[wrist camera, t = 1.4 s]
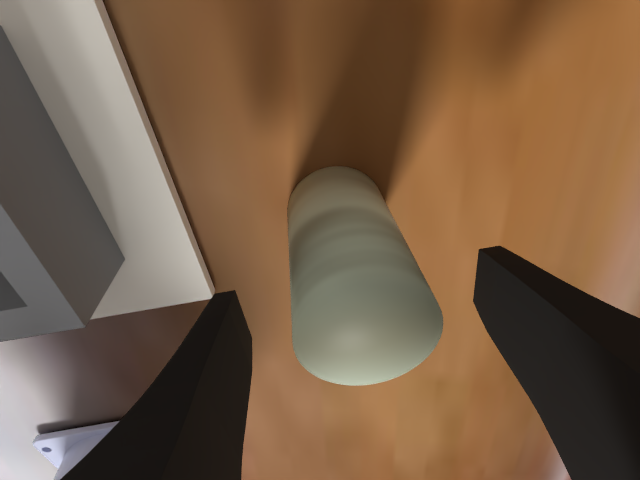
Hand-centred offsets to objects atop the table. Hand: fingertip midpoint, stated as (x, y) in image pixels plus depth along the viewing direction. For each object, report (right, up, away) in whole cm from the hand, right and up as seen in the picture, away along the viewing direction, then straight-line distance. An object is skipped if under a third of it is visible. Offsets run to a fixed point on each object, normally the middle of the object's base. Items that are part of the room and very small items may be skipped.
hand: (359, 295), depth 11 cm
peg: (-1, +3, +5) cm, 5 cm away
